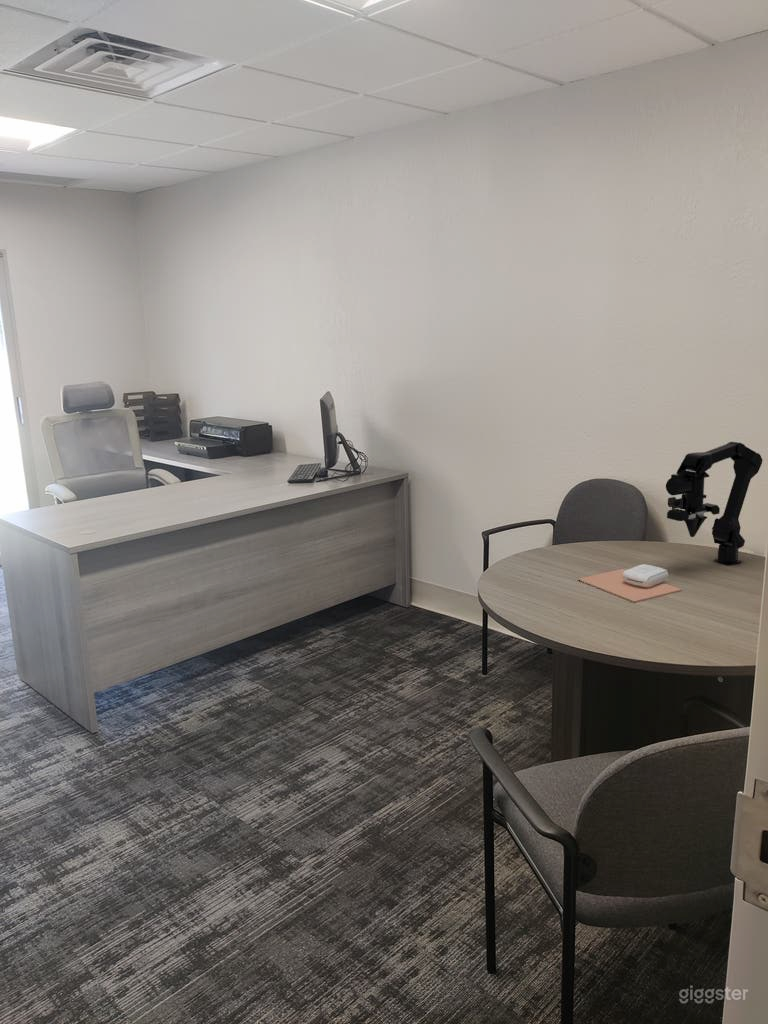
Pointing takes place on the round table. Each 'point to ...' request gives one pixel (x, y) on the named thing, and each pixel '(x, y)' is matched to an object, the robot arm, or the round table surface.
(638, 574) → the photo printer
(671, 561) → the round table surface
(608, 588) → the mat
